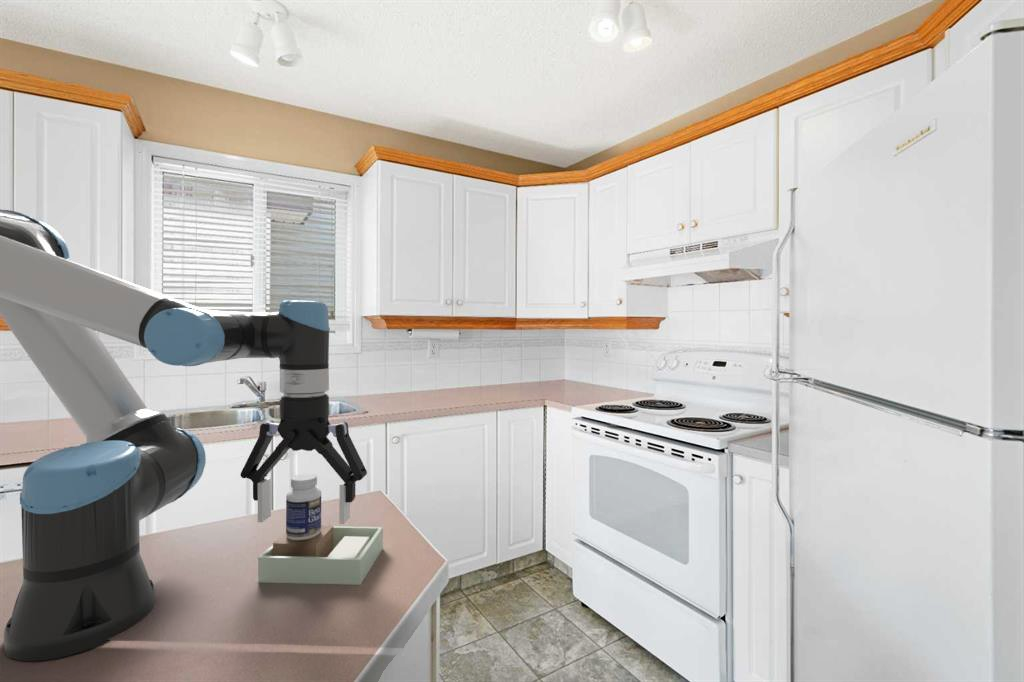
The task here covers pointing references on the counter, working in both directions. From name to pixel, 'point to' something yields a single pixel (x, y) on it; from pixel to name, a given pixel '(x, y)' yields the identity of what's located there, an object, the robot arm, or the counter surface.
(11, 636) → the robot arm
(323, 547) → the walnut block
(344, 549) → the white box
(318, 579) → the box
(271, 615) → the counter surface
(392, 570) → the counter surface
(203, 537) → the counter surface
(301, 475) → the pill bottle
